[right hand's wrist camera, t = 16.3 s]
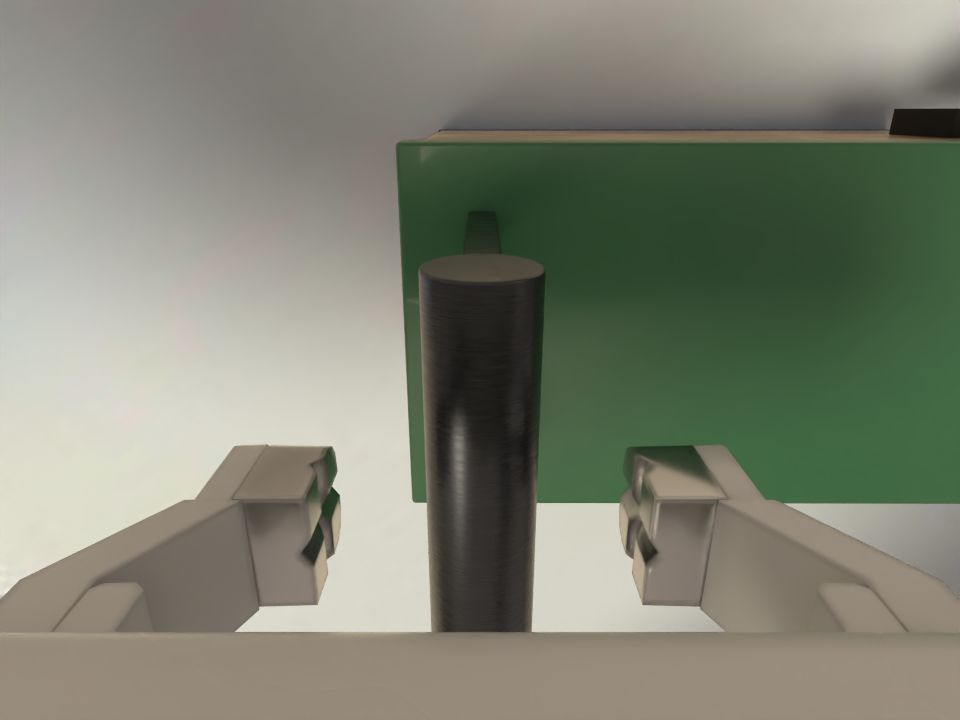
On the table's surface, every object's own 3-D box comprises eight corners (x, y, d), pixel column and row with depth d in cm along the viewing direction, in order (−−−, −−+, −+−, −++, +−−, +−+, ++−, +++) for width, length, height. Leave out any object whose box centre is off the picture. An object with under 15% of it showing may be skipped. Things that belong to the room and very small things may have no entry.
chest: (445, 371, 28) (430, 479, 20) (440, 129, 24) (419, 139, 16) (833, 371, 28) (978, 480, 19) (887, 129, 24) (1094, 139, 16)
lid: (416, 479, 19) (369, 740, 11) (401, 140, 16) (318, 169, 8) (979, 480, 19) (1333, 743, 11) (1095, 139, 16) (1739, 170, 8)
